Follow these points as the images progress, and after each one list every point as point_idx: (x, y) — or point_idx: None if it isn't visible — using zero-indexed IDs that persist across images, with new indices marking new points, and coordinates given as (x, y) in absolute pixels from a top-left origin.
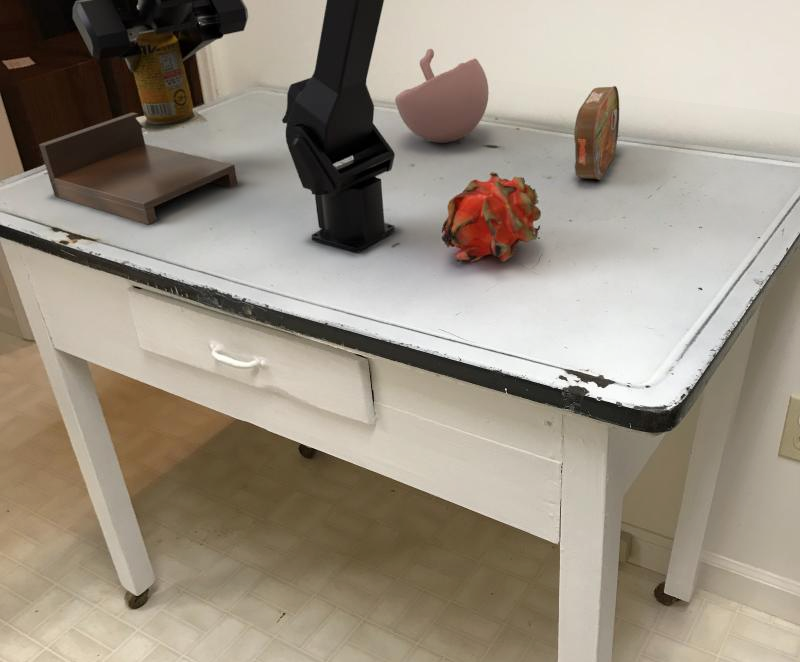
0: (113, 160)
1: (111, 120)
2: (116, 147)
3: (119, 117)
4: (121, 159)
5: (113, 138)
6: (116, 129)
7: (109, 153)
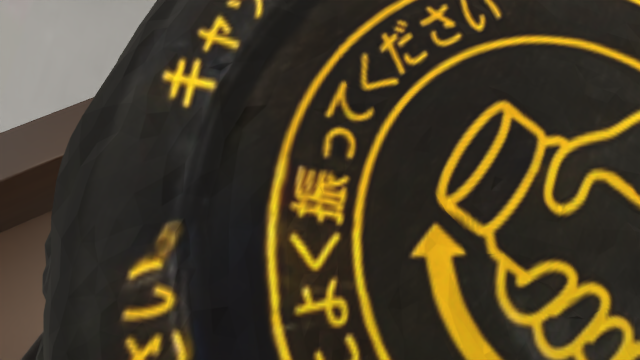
0: (5, 281)
1: (25, 141)
2: (40, 206)
3: (76, 117)
4: (40, 287)
5: (25, 198)
6: (43, 180)
7: (3, 225)
